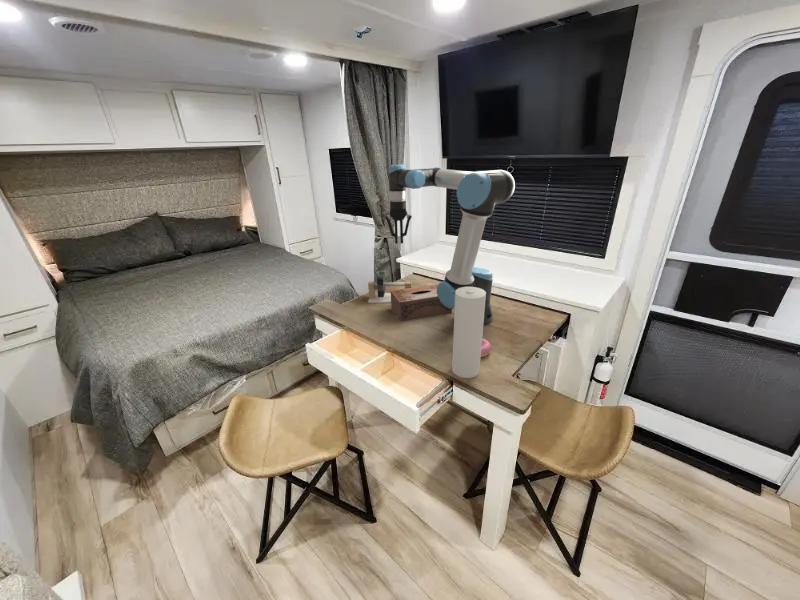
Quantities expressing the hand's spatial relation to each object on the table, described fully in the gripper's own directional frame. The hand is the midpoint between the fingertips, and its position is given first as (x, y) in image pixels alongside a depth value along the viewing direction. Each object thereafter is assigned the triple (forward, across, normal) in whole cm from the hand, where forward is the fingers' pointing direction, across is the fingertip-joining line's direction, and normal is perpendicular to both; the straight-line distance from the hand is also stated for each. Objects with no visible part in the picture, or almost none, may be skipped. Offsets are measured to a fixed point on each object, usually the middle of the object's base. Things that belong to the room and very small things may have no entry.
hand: (399, 249), depth 162 cm
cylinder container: (+27, -25, +62) cm, 72 cm away
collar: (+23, +10, 0) cm, 25 cm away
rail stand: (+26, +6, 0) cm, 27 cm away
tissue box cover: (+27, -10, +15) cm, 32 cm away
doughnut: (+27, -31, +50) cm, 64 cm away
